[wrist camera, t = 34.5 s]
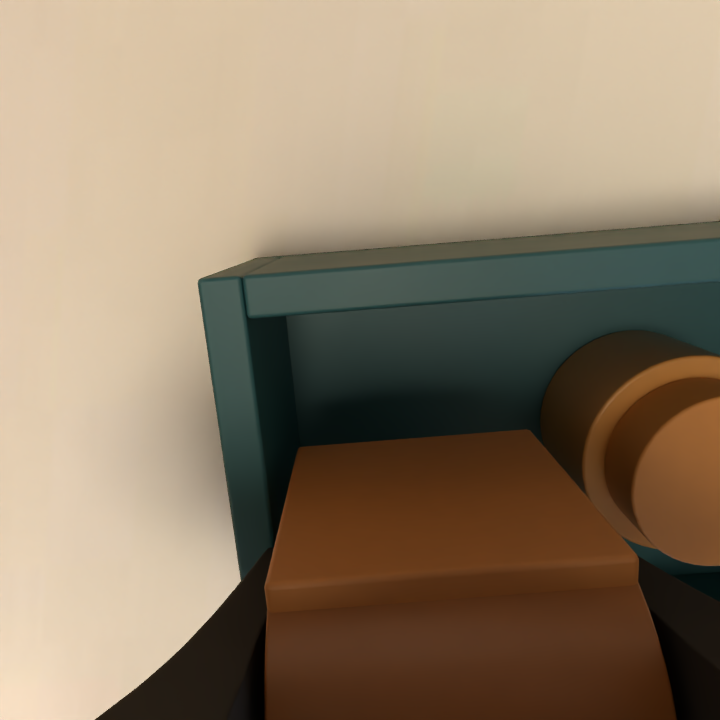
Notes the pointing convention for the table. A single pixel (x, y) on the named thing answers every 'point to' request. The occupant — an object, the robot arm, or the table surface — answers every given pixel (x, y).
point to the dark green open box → (432, 346)
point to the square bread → (454, 590)
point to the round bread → (643, 438)
